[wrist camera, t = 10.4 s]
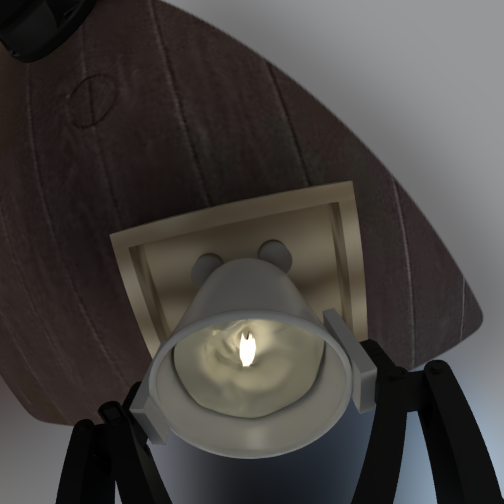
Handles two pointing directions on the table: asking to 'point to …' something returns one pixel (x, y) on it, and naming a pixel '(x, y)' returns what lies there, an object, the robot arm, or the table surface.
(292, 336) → the candle holder
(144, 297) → the peg frame
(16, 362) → the table surface
